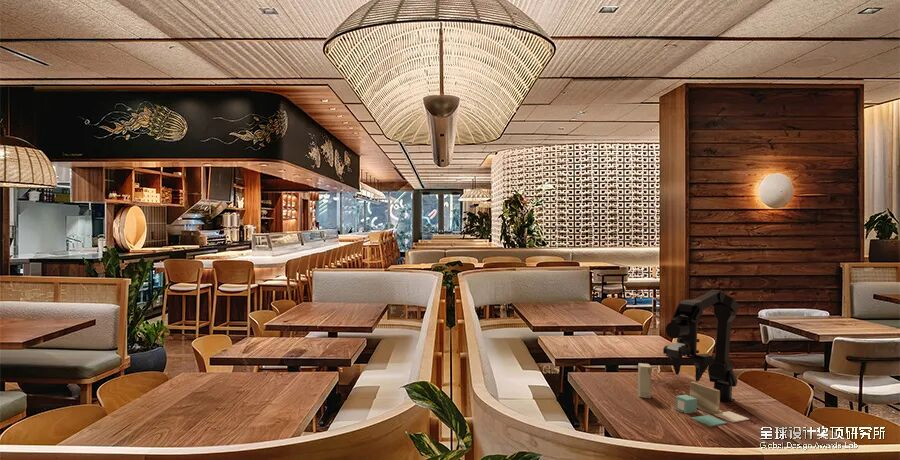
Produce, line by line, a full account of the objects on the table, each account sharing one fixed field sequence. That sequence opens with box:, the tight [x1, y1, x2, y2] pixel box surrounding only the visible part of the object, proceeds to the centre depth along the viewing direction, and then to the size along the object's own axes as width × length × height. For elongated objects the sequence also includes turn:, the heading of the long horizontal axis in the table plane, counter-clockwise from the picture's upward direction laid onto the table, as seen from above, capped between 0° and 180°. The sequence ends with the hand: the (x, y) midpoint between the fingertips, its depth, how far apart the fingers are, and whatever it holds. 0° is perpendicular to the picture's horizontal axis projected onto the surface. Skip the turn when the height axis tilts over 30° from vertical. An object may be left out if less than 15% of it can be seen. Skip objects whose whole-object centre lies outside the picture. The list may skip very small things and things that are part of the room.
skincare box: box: [637, 362, 652, 399], centre depth 220 cm, size 6×4×12 cm
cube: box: [675, 394, 697, 414], centre depth 203 cm, size 5×5×5 cm
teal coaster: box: [691, 414, 728, 427], centre depth 193 cm, size 8×8×1 cm
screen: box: [689, 381, 724, 416], centre depth 205 cm, size 4×13×8 cm, turn 24°
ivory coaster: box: [713, 410, 750, 423], centre depth 197 cm, size 8×8×1 cm
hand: (687, 378), depth 203 cm, fingers open, 9 cm apart
